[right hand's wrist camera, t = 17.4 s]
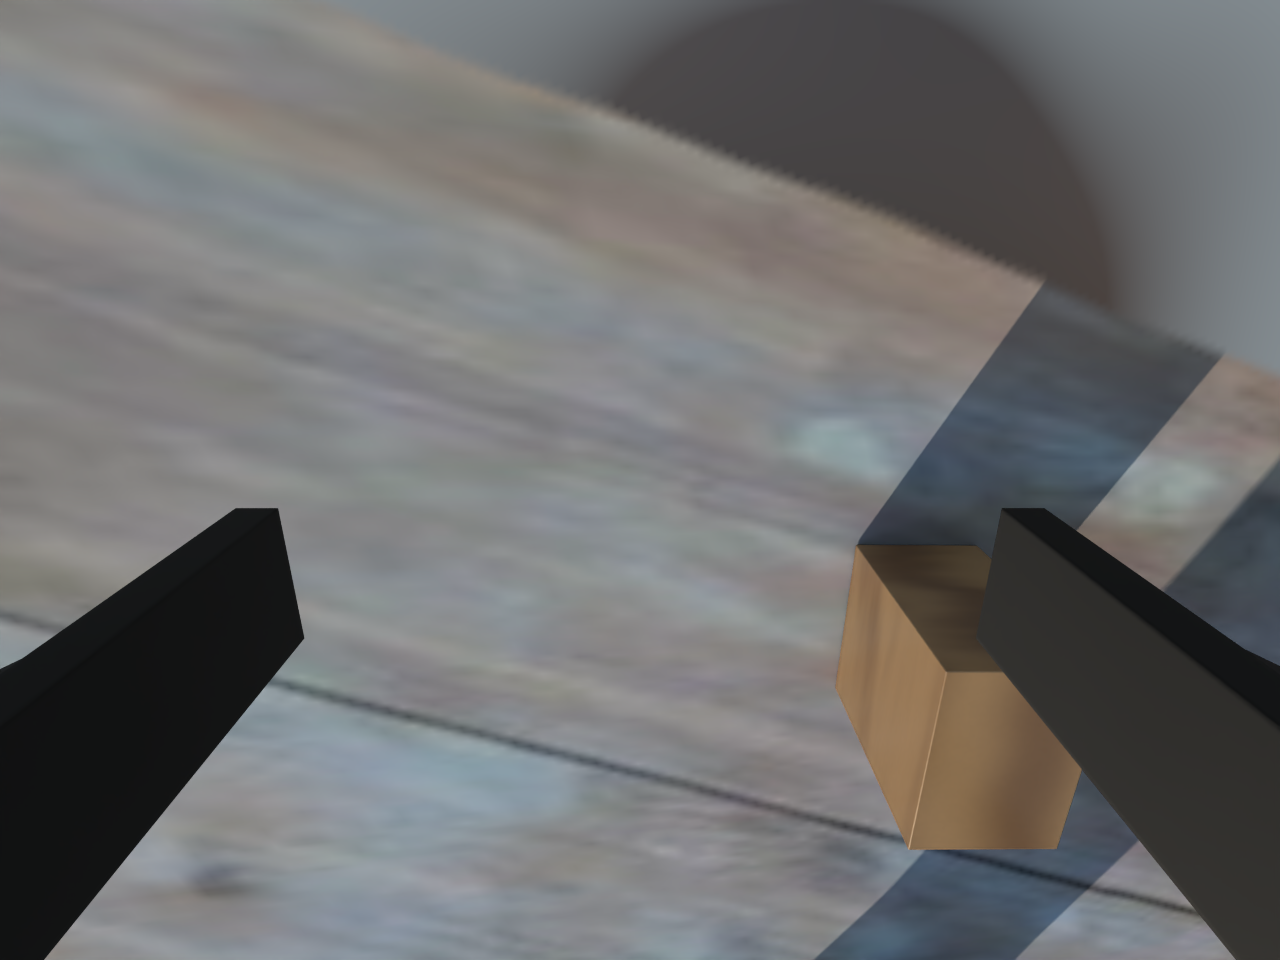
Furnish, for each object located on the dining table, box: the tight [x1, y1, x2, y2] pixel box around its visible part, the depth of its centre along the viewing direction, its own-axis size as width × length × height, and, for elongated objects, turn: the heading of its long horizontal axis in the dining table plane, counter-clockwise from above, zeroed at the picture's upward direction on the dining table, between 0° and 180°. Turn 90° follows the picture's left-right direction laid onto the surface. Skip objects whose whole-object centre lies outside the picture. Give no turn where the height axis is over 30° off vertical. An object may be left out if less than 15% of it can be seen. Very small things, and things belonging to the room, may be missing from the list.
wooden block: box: [835, 545, 1082, 850], centre depth 32 cm, size 6×9×10 cm
